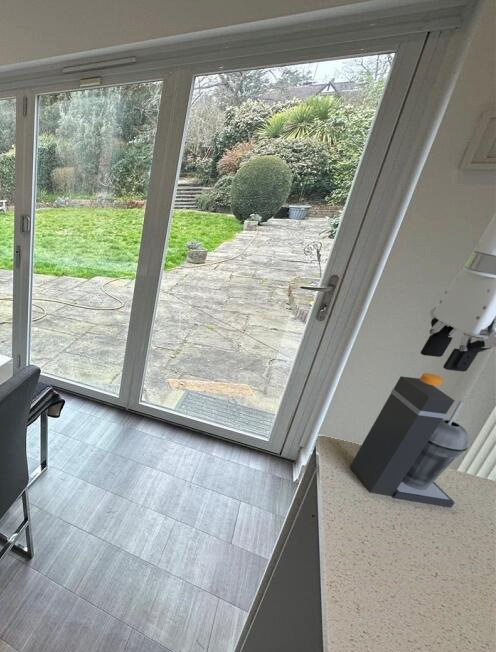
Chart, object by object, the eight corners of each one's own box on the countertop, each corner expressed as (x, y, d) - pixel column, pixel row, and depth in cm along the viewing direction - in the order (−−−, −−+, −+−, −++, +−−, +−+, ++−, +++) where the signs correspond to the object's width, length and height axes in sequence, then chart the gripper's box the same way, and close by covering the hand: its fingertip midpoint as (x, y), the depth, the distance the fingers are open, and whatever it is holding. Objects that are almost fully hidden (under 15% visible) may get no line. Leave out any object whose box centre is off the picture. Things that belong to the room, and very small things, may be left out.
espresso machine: (420, 476, 90) (482, 384, 80) (451, 507, 83) (525, 410, 72) (347, 465, 93) (398, 374, 82) (371, 494, 85) (430, 398, 75)
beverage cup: (394, 486, 86) (445, 407, 76) (385, 465, 91) (432, 389, 82) (441, 500, 82) (500, 419, 73) (429, 478, 88) (483, 400, 79)
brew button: (433, 379, 78) (436, 374, 78) (444, 386, 76) (447, 381, 75) (416, 377, 79) (419, 372, 78) (426, 384, 77) (429, 379, 76)
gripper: (583, 282, 59) (507, 389, 67) (484, 255, 74) (432, 345, 82) (519, 278, 61) (452, 382, 69) (435, 252, 75) (389, 341, 84)
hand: (442, 361), depth 75 cm, fingers open, 5 cm apart
